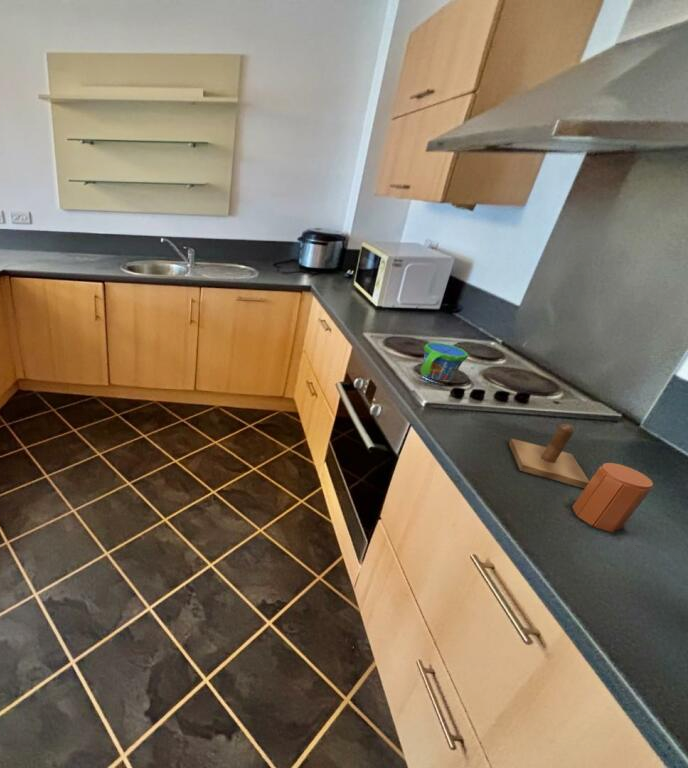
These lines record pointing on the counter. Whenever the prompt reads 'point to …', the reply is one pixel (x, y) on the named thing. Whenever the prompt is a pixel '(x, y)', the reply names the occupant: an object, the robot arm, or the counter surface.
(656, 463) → the counter surface
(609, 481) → the terracotta cup
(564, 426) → the stand
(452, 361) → the snack cup
